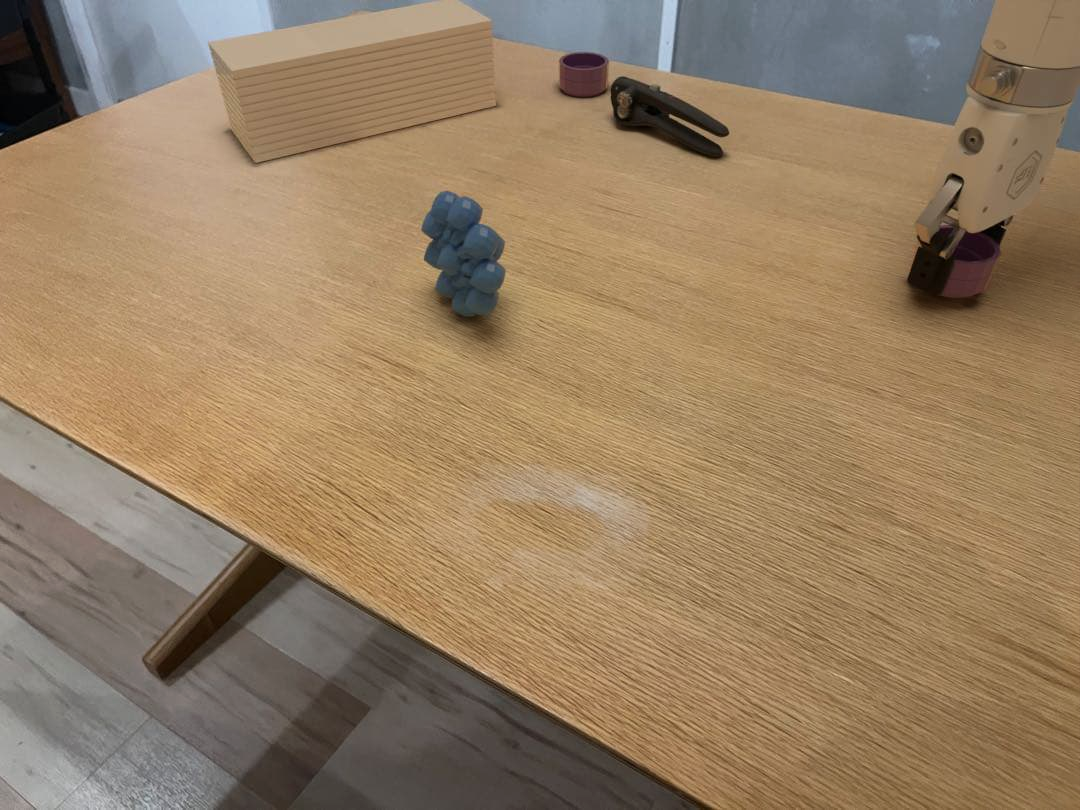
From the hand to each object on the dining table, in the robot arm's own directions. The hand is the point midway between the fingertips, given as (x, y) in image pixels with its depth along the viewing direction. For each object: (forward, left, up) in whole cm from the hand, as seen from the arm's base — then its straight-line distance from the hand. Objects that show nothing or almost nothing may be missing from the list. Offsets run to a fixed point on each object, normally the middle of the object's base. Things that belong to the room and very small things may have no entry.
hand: (949, 273), depth 74 cm
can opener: (+18, -36, -2) cm, 40 cm away
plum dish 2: (0, 0, -1) cm, 1 cm away
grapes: (+43, -2, -2) cm, 43 cm away
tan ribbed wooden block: (+55, -46, -2) cm, 72 cm away
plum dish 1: (+26, -52, -2) cm, 58 cm away
